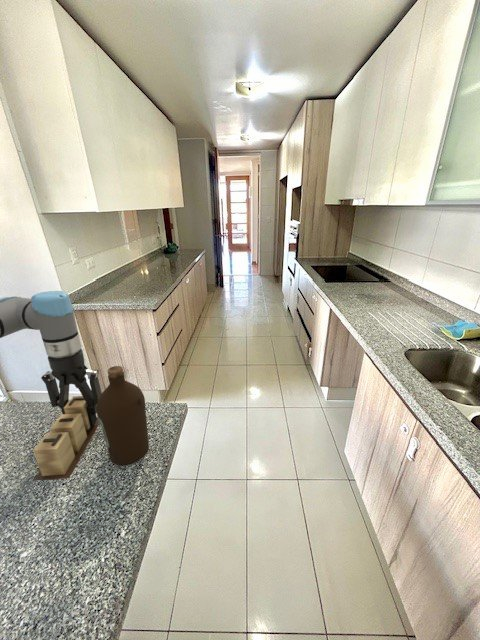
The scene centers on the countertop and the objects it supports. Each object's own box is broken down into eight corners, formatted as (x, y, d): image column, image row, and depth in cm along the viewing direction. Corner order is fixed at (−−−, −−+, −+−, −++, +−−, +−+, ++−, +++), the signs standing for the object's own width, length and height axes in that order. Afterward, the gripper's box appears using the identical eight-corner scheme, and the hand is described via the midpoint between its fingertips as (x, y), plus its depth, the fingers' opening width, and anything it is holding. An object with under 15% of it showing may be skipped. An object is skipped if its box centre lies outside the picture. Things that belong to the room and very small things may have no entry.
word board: (33, 482, 60) (32, 480, 59) (76, 420, 78) (75, 418, 78) (69, 479, 60) (69, 477, 60) (103, 418, 79) (103, 417, 79)
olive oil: (151, 432, 74) (140, 355, 65) (151, 463, 65) (138, 378, 56) (110, 440, 71) (93, 361, 62) (104, 474, 62) (83, 386, 53)
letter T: (42, 476, 60) (32, 449, 57) (54, 457, 65) (45, 431, 62) (64, 474, 61) (56, 447, 58) (75, 456, 66) (67, 430, 62)
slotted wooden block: (70, 431, 72) (63, 406, 69) (78, 418, 77) (72, 394, 74) (88, 429, 73) (82, 405, 70) (96, 417, 77) (90, 394, 74)
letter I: (58, 452, 66) (49, 427, 63) (68, 437, 71) (60, 413, 68) (78, 451, 67) (71, 426, 64) (87, 436, 72) (80, 412, 69)
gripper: (16, 360, 62) (42, 435, 70) (95, 357, 64) (111, 431, 72) (36, 346, 69) (57, 416, 77) (107, 344, 71) (120, 412, 79)
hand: (83, 423), depth 75 cm, fingers closed on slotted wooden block, 5 cm apart
